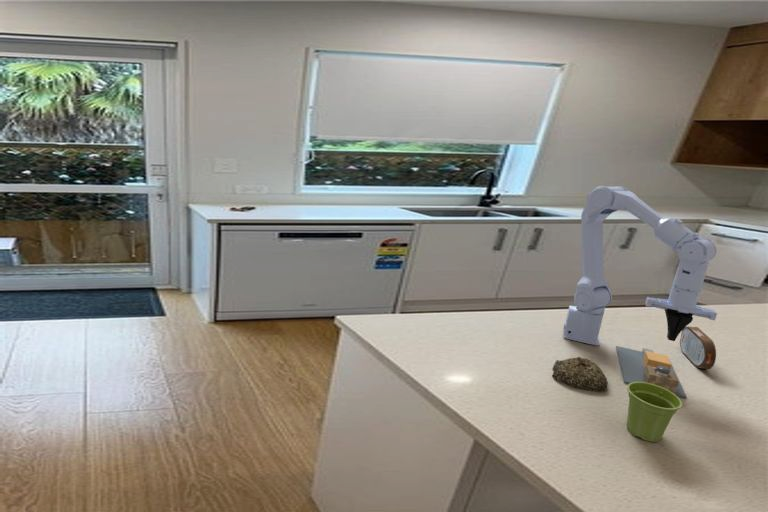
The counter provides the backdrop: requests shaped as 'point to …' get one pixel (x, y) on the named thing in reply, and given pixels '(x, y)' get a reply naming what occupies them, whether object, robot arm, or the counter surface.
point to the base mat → (637, 368)
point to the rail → (646, 350)
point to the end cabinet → (661, 379)
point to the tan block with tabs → (656, 360)
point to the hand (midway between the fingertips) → (670, 339)
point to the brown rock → (580, 374)
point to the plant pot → (650, 410)
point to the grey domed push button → (662, 370)
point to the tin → (698, 347)
